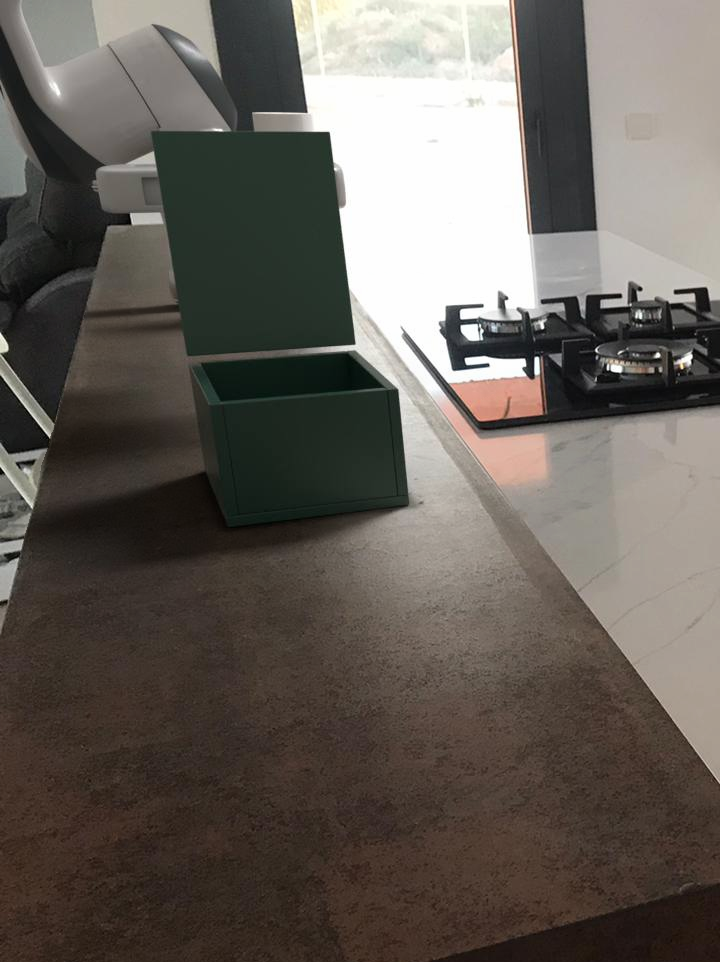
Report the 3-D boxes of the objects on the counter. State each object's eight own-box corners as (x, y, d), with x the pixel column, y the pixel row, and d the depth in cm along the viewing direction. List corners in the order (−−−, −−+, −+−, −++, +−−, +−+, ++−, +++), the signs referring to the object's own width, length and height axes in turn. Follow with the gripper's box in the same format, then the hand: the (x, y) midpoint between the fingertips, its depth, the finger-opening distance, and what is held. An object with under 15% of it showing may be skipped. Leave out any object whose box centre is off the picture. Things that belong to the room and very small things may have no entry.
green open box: (409, 505, 96) (398, 388, 92) (228, 527, 90) (209, 404, 87) (366, 453, 108) (355, 350, 105) (205, 471, 103) (188, 361, 99)
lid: (330, 131, 100) (328, 132, 100) (151, 130, 94) (150, 131, 95) (356, 345, 105) (354, 344, 105) (187, 356, 99) (186, 355, 99)
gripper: (84, 146, 114) (89, 155, 102) (324, 145, 123) (353, 154, 112) (97, 220, 116) (103, 237, 105) (332, 214, 125) (361, 228, 114)
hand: (234, 194), depth 108 cm, fingers closed
